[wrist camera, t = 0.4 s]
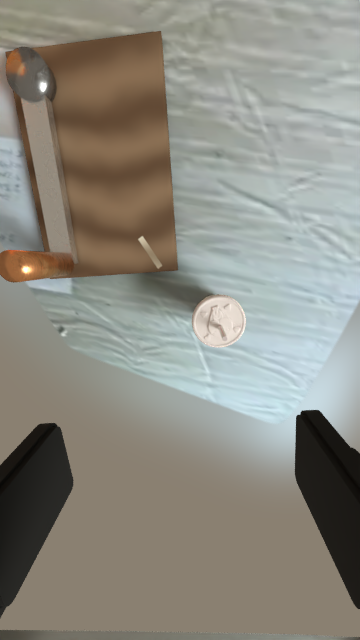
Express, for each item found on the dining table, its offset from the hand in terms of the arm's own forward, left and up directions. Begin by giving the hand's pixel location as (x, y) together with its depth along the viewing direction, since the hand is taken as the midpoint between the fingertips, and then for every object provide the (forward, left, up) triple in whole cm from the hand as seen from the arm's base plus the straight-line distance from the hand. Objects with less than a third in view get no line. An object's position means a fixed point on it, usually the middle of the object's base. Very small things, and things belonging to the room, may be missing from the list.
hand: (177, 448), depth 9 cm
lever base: (-20, -11, -30) cm, 37 cm away
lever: (-19, -17, -28) cm, 38 cm away
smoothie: (0, +4, -30) cm, 30 cm away
